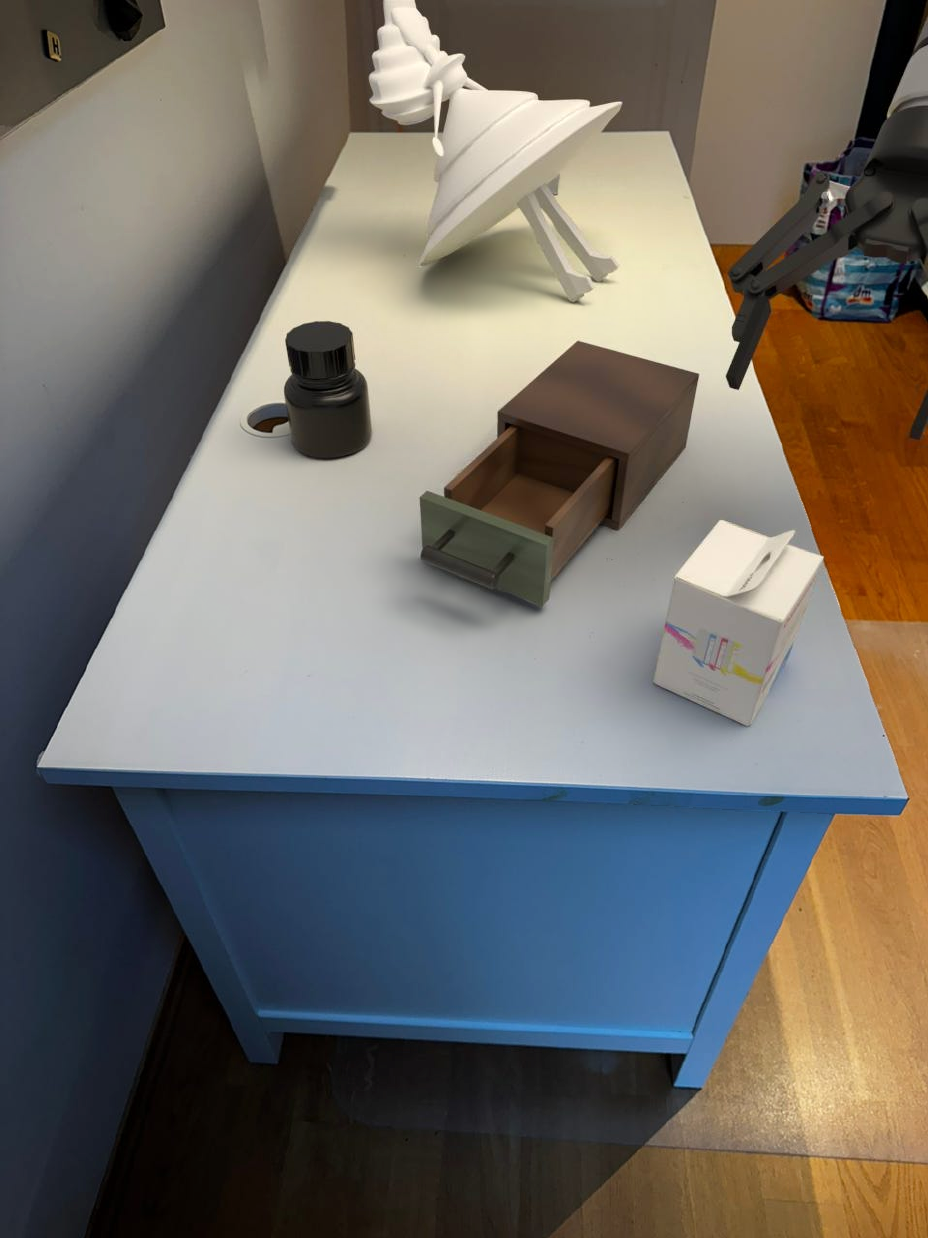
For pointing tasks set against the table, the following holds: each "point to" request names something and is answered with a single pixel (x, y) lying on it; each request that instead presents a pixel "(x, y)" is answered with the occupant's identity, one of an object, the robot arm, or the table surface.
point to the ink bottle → (326, 391)
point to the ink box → (734, 619)
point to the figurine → (487, 146)
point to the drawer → (518, 512)
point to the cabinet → (611, 415)
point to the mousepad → (554, 185)
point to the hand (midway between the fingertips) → (820, 408)
